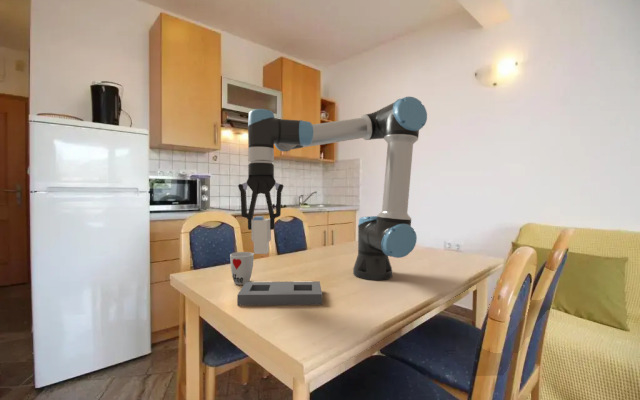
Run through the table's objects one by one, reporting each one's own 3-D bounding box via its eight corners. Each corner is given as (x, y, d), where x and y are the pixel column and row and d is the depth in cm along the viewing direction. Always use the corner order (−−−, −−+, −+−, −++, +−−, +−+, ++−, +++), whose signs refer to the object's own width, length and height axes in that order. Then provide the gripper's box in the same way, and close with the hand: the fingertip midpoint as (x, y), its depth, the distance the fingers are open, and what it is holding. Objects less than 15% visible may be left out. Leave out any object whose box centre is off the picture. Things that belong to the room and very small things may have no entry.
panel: (319, 290, 96) (319, 280, 96) (322, 304, 84) (322, 293, 84) (245, 290, 95) (245, 281, 95) (237, 305, 83) (237, 294, 83)
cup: (225, 282, 103) (225, 254, 103) (245, 277, 109) (245, 250, 109) (237, 287, 98) (238, 258, 98) (258, 282, 104) (258, 254, 103)
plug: (268, 251, 91) (268, 216, 91) (267, 253, 87) (267, 217, 87) (255, 251, 91) (255, 216, 90) (253, 253, 87) (253, 217, 86)
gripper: (290, 164, 92) (290, 238, 93) (235, 163, 91) (235, 238, 92) (289, 162, 85) (289, 242, 85) (229, 161, 84) (229, 242, 84)
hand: (261, 240), depth 89 cm, fingers closed on plug, 4 cm apart
